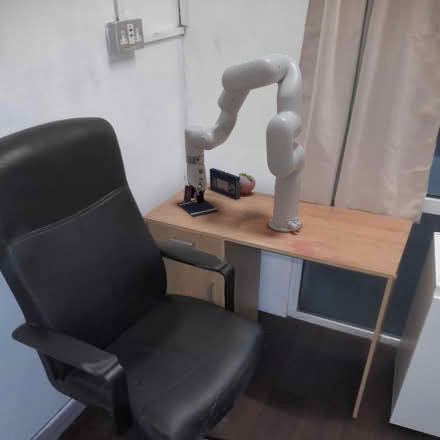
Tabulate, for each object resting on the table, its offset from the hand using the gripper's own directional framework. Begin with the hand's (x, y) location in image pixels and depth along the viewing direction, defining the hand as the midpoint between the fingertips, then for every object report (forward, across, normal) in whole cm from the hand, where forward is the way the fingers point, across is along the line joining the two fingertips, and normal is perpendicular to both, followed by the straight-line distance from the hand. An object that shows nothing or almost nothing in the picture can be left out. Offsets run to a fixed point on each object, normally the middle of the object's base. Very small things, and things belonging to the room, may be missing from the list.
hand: (196, 200), depth 180 cm
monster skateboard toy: (+1, +1, 0) cm, 2 cm away
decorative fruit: (+3, +3, -26) cm, 26 cm away
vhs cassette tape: (+3, +8, -18) cm, 20 cm away
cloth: (+3, 0, 0) cm, 3 cm away
